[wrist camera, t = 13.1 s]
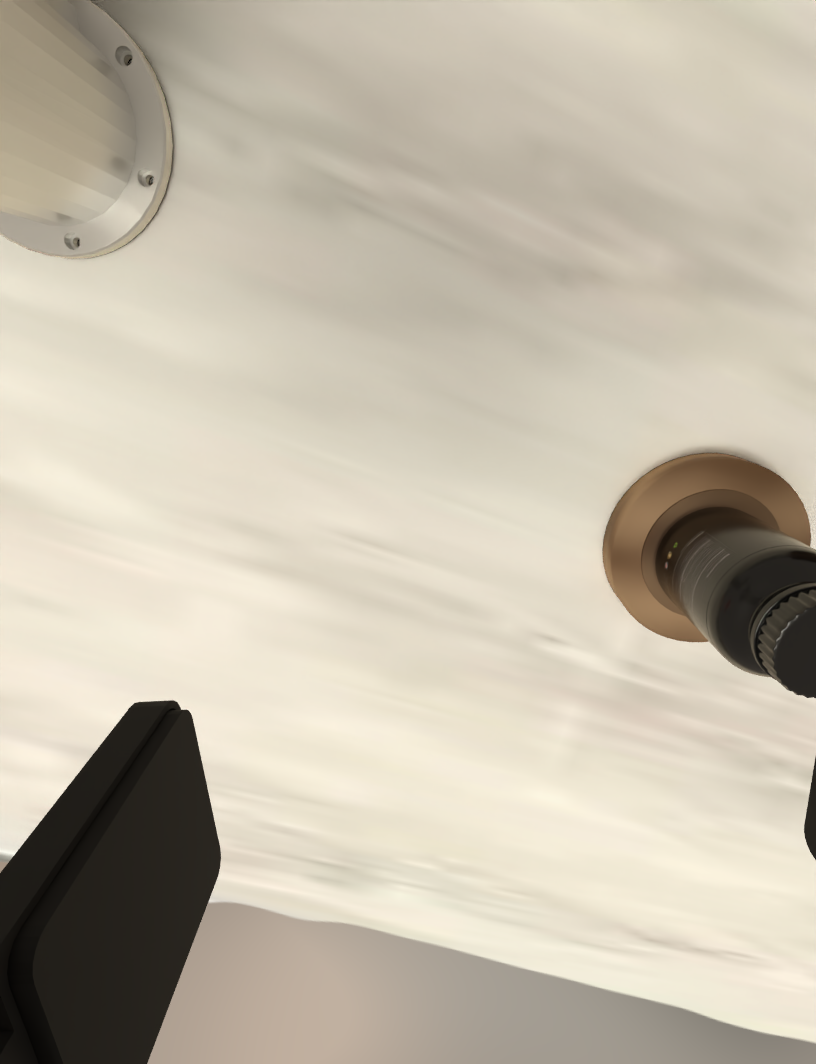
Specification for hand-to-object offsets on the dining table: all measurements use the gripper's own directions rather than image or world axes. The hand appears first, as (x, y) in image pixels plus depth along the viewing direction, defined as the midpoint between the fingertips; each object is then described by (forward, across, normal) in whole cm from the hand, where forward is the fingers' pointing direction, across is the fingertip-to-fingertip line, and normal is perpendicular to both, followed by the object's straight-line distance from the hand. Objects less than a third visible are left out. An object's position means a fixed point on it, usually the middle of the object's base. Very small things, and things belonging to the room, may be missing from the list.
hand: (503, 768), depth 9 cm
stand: (+30, -16, +8) cm, 35 cm away
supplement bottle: (+28, -16, +8) cm, 33 cm away
